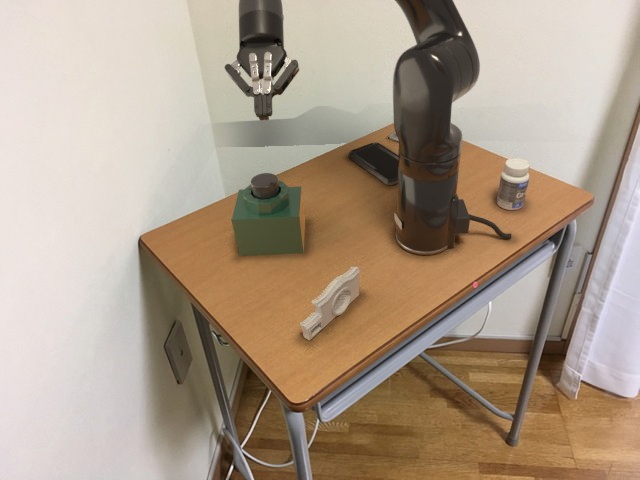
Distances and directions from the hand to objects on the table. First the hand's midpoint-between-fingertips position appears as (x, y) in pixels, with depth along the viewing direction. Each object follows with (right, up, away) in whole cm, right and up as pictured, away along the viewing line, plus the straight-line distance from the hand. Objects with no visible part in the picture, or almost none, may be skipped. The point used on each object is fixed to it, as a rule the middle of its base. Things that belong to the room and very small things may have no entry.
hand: (263, 118), depth 86 cm
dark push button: (+1, -12, -1) cm, 13 cm away
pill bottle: (+44, -14, +9) cm, 47 cm away
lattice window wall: (+11, -32, -10) cm, 35 cm away
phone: (+22, -5, +22) cm, 32 cm away
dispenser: (+1, -20, +5) cm, 21 cm away
